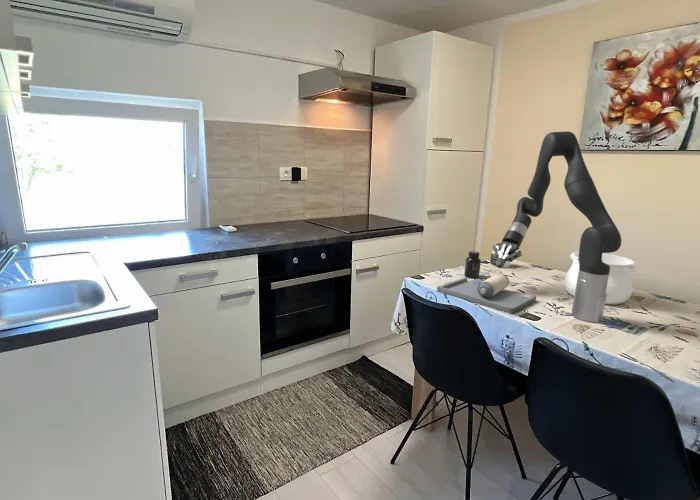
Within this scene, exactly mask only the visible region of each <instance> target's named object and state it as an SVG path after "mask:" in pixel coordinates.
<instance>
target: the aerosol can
mask: <svg viewBox="0 0 700 500" xmlns="http://www.w3.org/2000/svg"><path fill="white" fill-rule="evenodd" d="M478 284H479V285H478V289H477V290H478V293H479V295H480V296H482V297H484V298H490V297H492V296H493V295H495V294H497V293H498V292H500V291H504V289H506V288H507V287H508V286H509V284H510V279H509V277H508V276H507V275H506V274H504V273H501V272H500V273H495V275H492V276H491V277H489V278H487V279H485V280H483V281H481V282H480V283H478Z"/></svg>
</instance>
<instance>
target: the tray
mask: <svg viewBox="0 0 700 500" xmlns="http://www.w3.org/2000/svg"><path fill="white" fill-rule="evenodd" d="M479 284H480V283H476V282H472V281H468V278H467V277H465V276H464V277H461V278H459V279H456V280H453V281H449V282H447V283H444V284H441V285H438V286H437V287H436V292H438V293H440V294H445V295H448V296H451V297H454V298H457V299H461V300H464V301H468V302H470V303H474V304H477V305H480V306H484V307H487V308H489V309H493V310H498V311H500V312H503V311H504V312H503V313H506V312H507V314H509V313H510V314H509V315H512V313H513V314H514V313H516V312H517V310H518V311H520V310H522V309H523V307H524V308H526V307H527V306H529V305H531V304H533V303H535V302H536V301H537V296H536V295H531V296H529V297H528V296H524V295H522V294H521V295H520V294H516V293H513V292H510V291H505V290H502V291H500V292H498V293H497V294H495V295H493V296H492V297H490V298H484V297H482V296H480V295H479V293H478V290H477V289H478V285H479ZM521 308H522V309H521ZM519 309H520V310H519ZM515 311H516V312H515Z"/></svg>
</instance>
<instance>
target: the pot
mask: <svg viewBox="0 0 700 500" xmlns="http://www.w3.org/2000/svg"><path fill="white" fill-rule="evenodd" d="M578 258H579V251H574V252H572V253H571V254H570V255H569V259H571V260H572V264H571V266H570V268H568V270H567V272H566V274H565V276H564V280H563V283H564V284H563V285H564V288H565V290H566V292H567V293H568V294H569V295H571V296H573V297H574V295H575V290H576V284H577V278H578V272H579V266H580V265H579V259H578ZM602 262H603V263H606V264H608V265H609V266H610V272H609V277H608V282H607V288H606V294H607V296H606V302H605V305H621V304H622V303H624V302H626V301H628V300H629V298H630V297H631V296H632V292H633V282H632V278H631V273H635V272H636V270H637V268H636V266H634V265H635V261H634V260H633V259H631V258H629V257H628V258H627V257H624V256H621V255H617V254H612V253H611V254H610V253H602Z"/></svg>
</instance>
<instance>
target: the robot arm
mask: <svg viewBox="0 0 700 500" xmlns="http://www.w3.org/2000/svg"><path fill="white" fill-rule="evenodd" d="M553 157H563V158H564V159H565V160H566V164H567V172H566V175H565V178H564V184H563V187H564V190H565V192H566V195H567V197H568V199H569V201H570V203H571V204H572V206H573V207H575V208H576V209H577V210H578V211H579V212H580V213H581V214H583V216H585V218H586V219H587V220H588V221H589V222H590V225H591V226H589V227H587V228H585V229H584V231H583V232H582V234H581V236H580V242H579V251H578V252H579V258H578V259H579V265H580V266H579V272H578V278H577V284H576V290H575V295H574V296H573V301H572V308H571V314H570V315H571V316H572V317H573V318H576V319H578V320H581V321H585V322H590V323H591V322H594V323H596V324H597V323H599V322H600V321H601V320H603V318H604V317H603V316H604V313H605V312H604V311H605V306H606V304H605V302H606V296H607V294H606V288H607V282H608V277H609V272H610V266H609V265H608V264H606V263H603V262H602V253H606V254H610V253H611V254H612V253H615V252H617V251H618V250H619V249H620V247H621V245H622V235H621V233H620V230H619V229H618V227H617V226H616V224H615V222H614V221H613V218H611V215H610V213H608V211H607V209H606V207H605V205H604V202H603V201H602V198H601V196H600V195H599V192H598V190H597V186H596V185H595V182H594V181H593V177H592V176H591V174H590V172H589V170H588V168H587V167H588V166H587V165H586V163H585V161H584V157H583V154H582V151H581V148H580V144H579V141H578V138H577V136H576V135H575V134H574V132H572V131H568V130H567V131H566V130H565V131H550V132H548V133H546V134H545V136H544V138H543V140H542V143H541V147H540V150H539V154H538V158H537V163H536V167H535V172H534V175H533V177H532V180H531V182H530V185H529V187H528V189H527V196H528V197H527V196H523V197H521V198H520V199H519V200H518V202H517V205H516V213H515V216H514V219H513V220H512V222H511V224H510V225H509V227H508V229H507V230H506V232H505V233H504V236H503V237H502V239H501V240H502V241H501V242H499V243H500V244H499V245H498V246H496V245H493V246H492V249H493V252H495V255H496V258H497V259H498V260H497V262H496V266H497V267H496V268H497V269H502V268H501V267H503V266H504V264H505V262H506V261H509V262H510V263H511V262H512V261H514V260H516V259H518V258H520V257H522V255H523V253H522V250H520V247H521V245H522V243H523V241H524V239H525V237H526V235H527V232H528V230H529V228H530V226H531V224H532V218H531V217H533V218H537V217H538V216H540V215H541V214H542V212H543V207H544V201H545V200H544V199H545V195H546V194H547V191H548V189H549V186H550V184H551V180H552V178H551V173H550V168H549V165H550V162H551V159H552V158H553ZM499 248H500V255H499V254H498V250H499Z"/></svg>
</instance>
